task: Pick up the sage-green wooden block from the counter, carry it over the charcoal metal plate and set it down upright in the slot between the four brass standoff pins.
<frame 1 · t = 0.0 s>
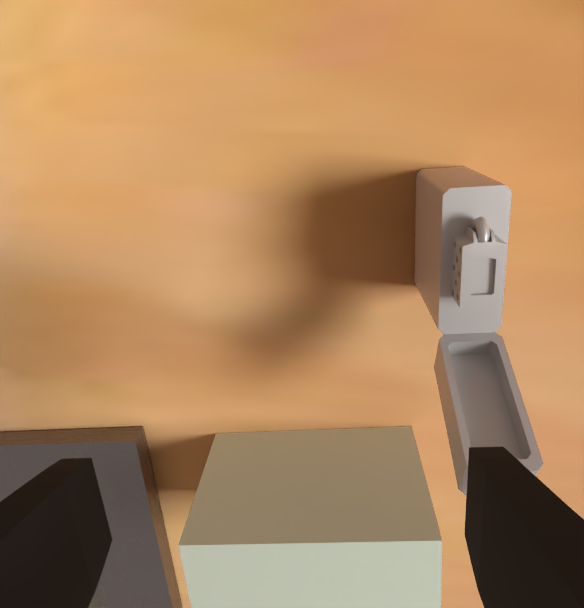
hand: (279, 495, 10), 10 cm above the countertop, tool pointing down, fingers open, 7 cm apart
standoff plate: (12, 573, 25), on the countertop
sage block: (314, 459, 22), on the countertop
lighter: (438, 268, 19), on the countertop
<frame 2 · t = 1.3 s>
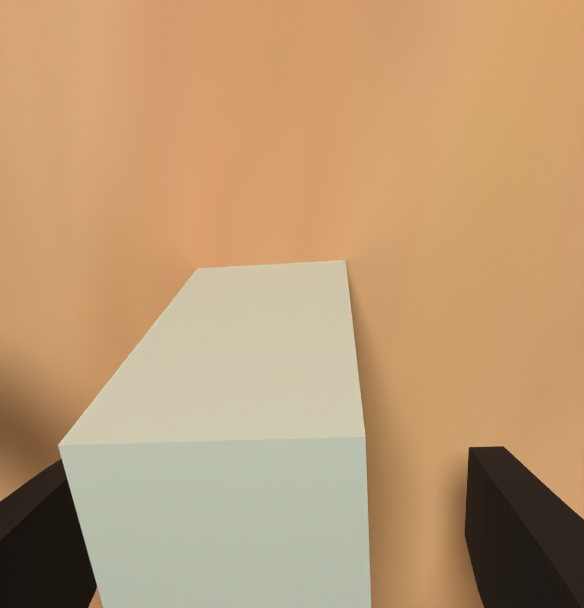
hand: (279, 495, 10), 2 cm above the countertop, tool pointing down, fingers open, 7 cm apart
sage block: (287, 430, 12), on the countertop
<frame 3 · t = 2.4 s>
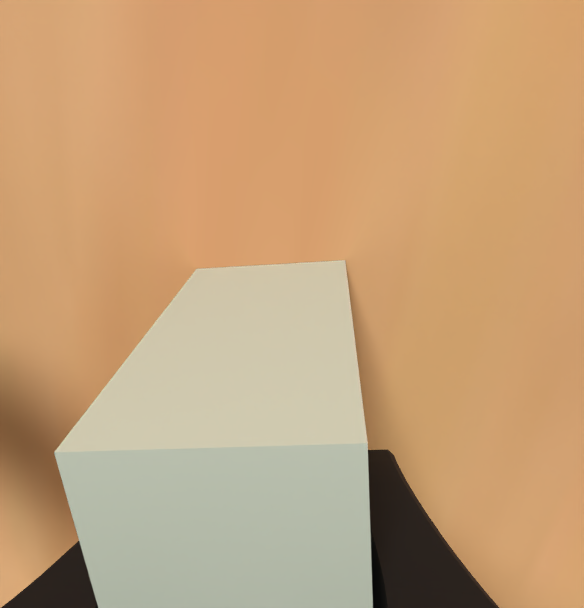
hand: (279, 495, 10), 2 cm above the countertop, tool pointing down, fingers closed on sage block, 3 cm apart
sage block: (286, 433, 12), on the countertop, touching gripper
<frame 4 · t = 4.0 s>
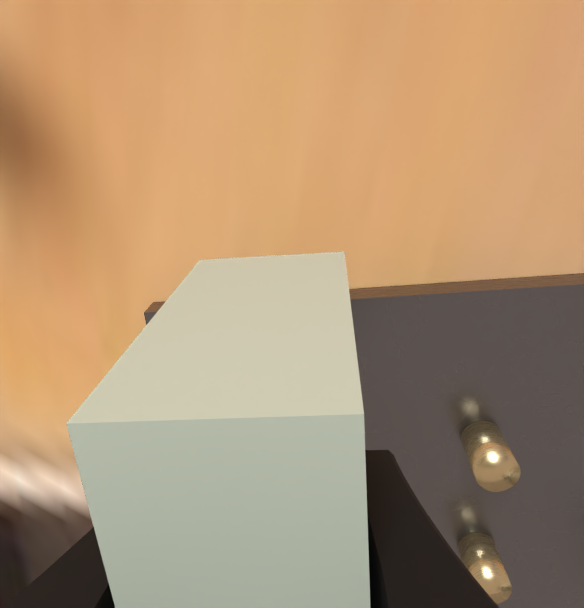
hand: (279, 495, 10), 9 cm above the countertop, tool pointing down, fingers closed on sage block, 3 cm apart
standoff plate: (388, 478, 21), on the countertop
sage block: (286, 422, 12), point 7 cm above the countertop, touching gripper
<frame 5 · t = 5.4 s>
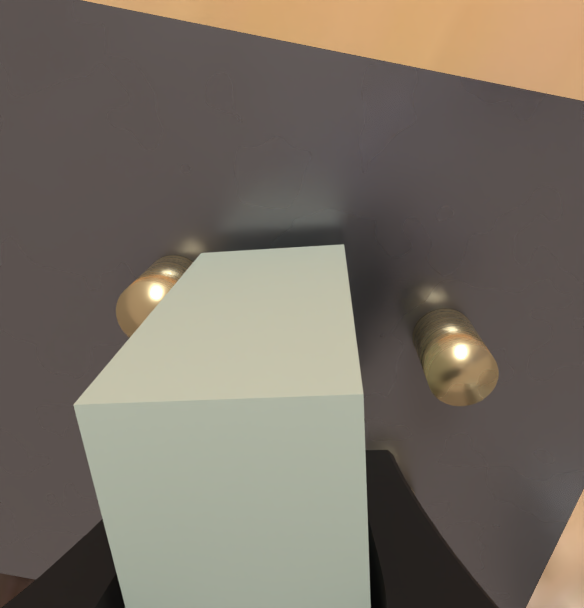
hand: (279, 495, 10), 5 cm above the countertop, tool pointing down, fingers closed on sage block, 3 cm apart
standoff plate: (293, 379, 14), on the countertop
sage block: (287, 414, 12), point 2 cm above the countertop, touching gripper
when the fingers open (5 cm above the countertop, at t = 6.1 s): sage block stays where it is, resting on standoff plate.
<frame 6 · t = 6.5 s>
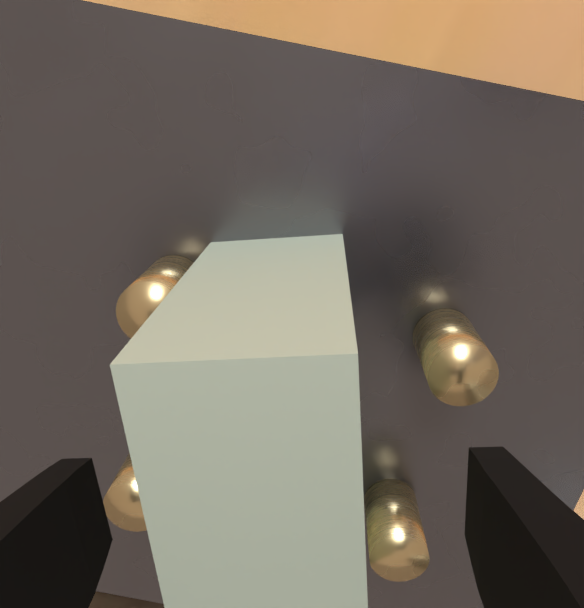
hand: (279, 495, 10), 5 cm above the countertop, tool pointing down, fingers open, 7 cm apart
standoff plate: (293, 379, 14), on the countertop
sage block: (290, 392, 13), point 1 cm above the countertop, touching standoff plate
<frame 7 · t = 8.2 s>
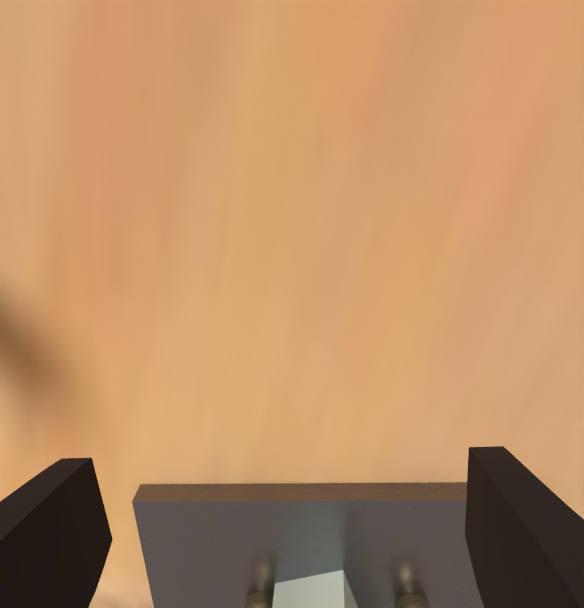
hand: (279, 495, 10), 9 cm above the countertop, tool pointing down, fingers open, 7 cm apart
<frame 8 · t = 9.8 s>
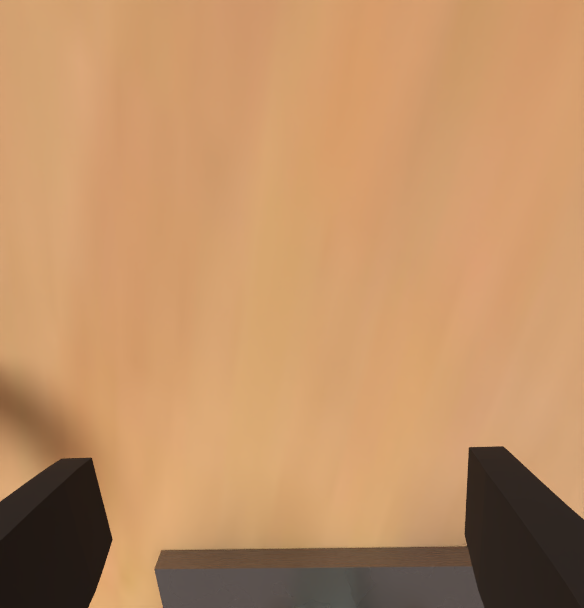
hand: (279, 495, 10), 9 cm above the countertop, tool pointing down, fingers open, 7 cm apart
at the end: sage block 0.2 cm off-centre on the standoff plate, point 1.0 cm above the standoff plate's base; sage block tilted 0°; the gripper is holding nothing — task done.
